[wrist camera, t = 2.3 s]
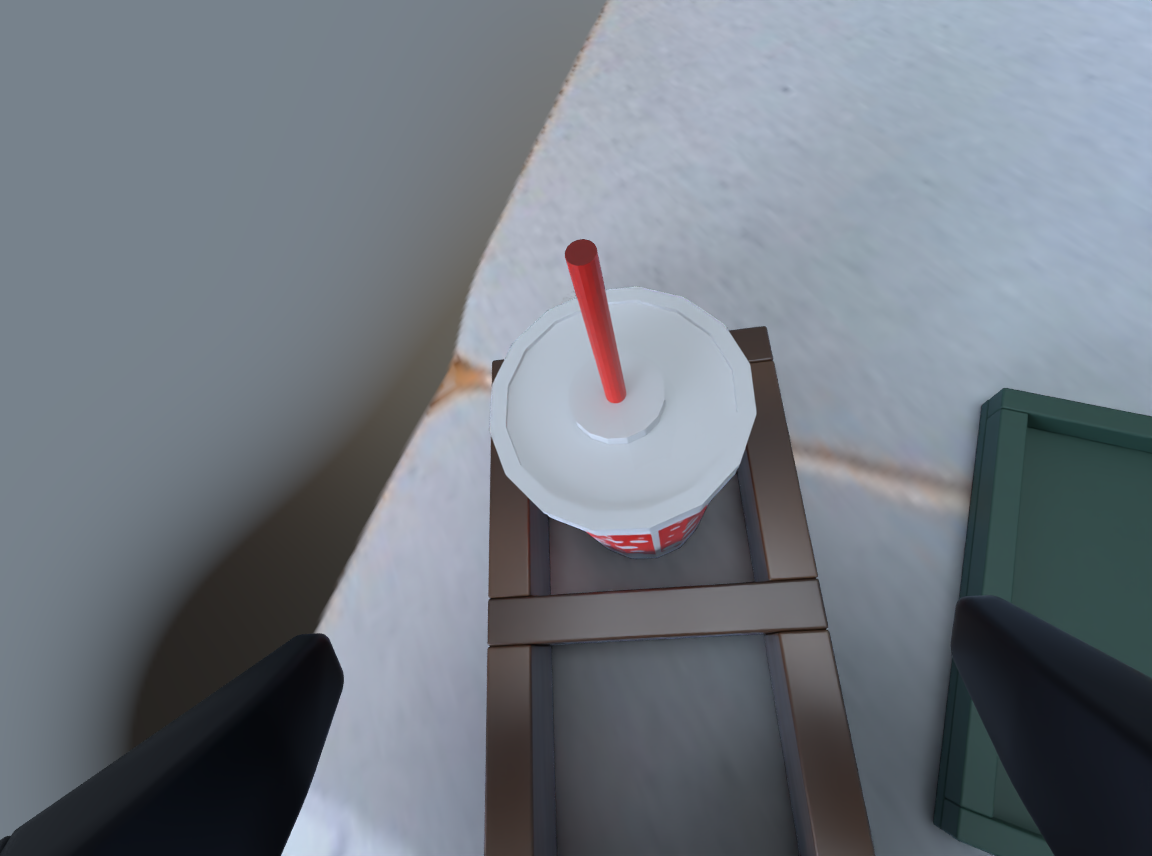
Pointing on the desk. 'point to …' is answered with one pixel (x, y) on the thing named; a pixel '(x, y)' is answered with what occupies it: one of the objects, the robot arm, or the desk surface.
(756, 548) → the cup rack
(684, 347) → the beverage cup
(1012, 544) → the tray
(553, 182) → the desk surface
